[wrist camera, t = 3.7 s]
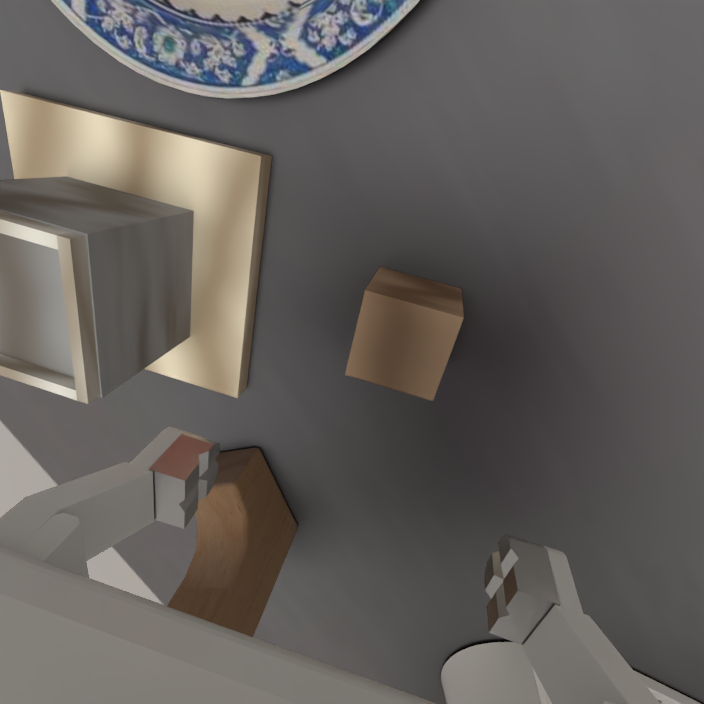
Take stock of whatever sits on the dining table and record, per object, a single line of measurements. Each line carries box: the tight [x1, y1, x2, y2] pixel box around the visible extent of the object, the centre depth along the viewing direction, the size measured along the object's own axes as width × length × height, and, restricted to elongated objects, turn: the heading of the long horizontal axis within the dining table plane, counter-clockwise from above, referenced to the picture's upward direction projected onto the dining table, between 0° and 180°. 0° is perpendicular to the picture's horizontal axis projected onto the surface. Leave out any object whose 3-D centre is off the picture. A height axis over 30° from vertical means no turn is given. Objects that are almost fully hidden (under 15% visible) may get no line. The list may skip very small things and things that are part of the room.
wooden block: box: [167, 447, 297, 637], centre depth 27 cm, size 9×4×18 cm, turn 19°
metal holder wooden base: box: [0, 90, 272, 404], centre depth 23 cm, size 16×16×10 cm
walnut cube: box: [345, 267, 464, 401], centre depth 24 cm, size 5×5×5 cm
